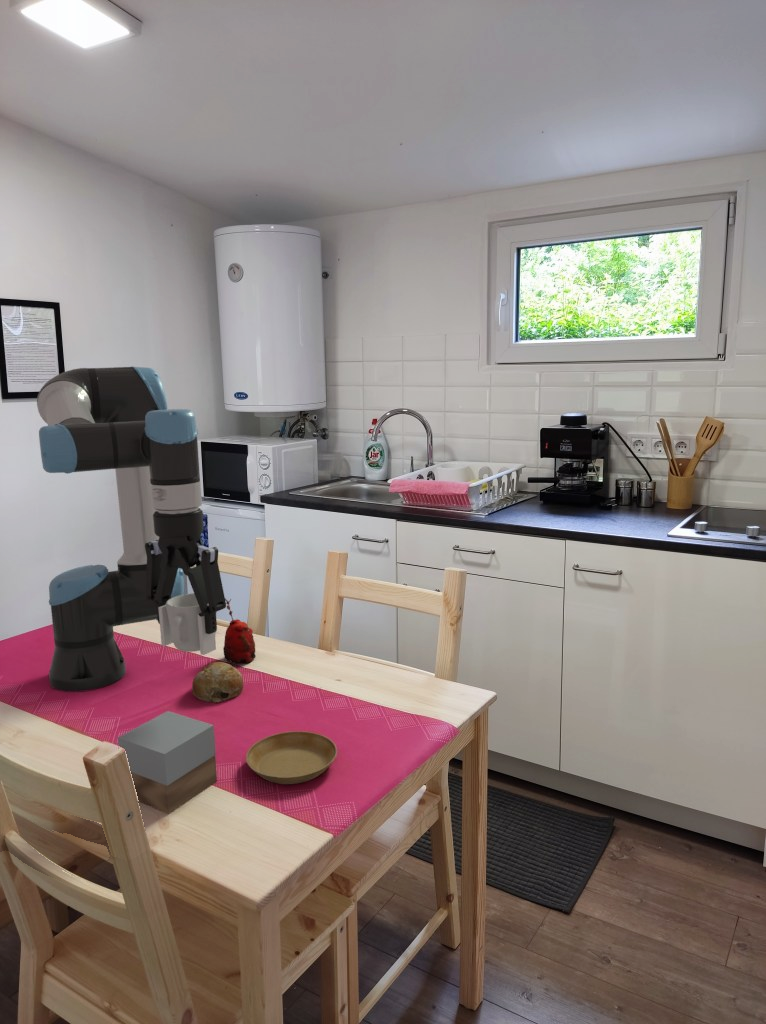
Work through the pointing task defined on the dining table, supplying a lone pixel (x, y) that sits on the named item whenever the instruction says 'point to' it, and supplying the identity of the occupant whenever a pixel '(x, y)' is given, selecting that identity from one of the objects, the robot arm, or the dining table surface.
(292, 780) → the plant saucer
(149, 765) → the grey block
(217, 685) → the bread roll
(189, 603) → the cup
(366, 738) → the dining table surface
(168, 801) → the walnut block
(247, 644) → the red textured ornament
